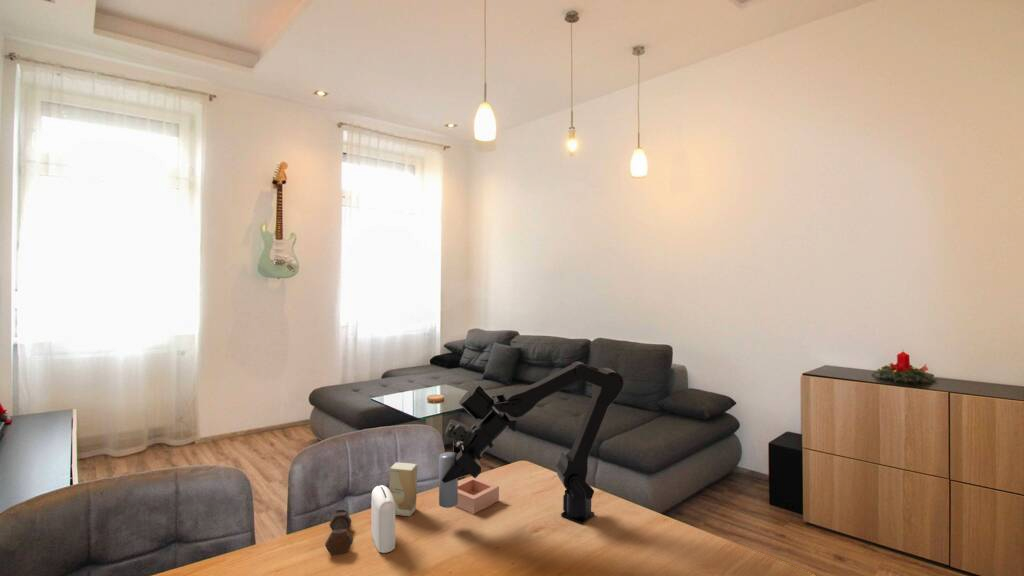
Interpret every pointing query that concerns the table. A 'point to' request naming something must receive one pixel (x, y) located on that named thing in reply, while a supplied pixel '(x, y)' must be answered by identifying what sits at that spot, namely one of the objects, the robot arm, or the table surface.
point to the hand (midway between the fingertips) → (442, 477)
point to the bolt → (339, 534)
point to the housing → (476, 494)
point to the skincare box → (403, 487)
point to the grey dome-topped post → (448, 489)
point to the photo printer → (383, 519)
